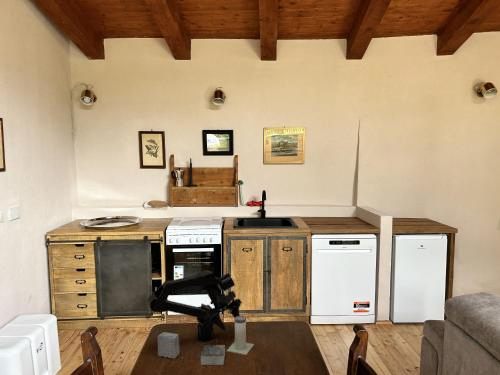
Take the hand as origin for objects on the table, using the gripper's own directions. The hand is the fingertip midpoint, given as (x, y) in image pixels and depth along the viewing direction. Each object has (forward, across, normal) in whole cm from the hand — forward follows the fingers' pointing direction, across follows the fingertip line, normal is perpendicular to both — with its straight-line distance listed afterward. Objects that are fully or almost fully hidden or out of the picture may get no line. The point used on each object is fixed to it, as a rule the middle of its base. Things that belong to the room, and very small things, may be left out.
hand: (232, 326), depth 158 cm
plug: (+9, 0, +3) cm, 9 cm away
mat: (+9, 0, +3) cm, 10 cm away
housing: (+8, -13, +4) cm, 16 cm away
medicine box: (-4, -24, +16) cm, 29 cm away
